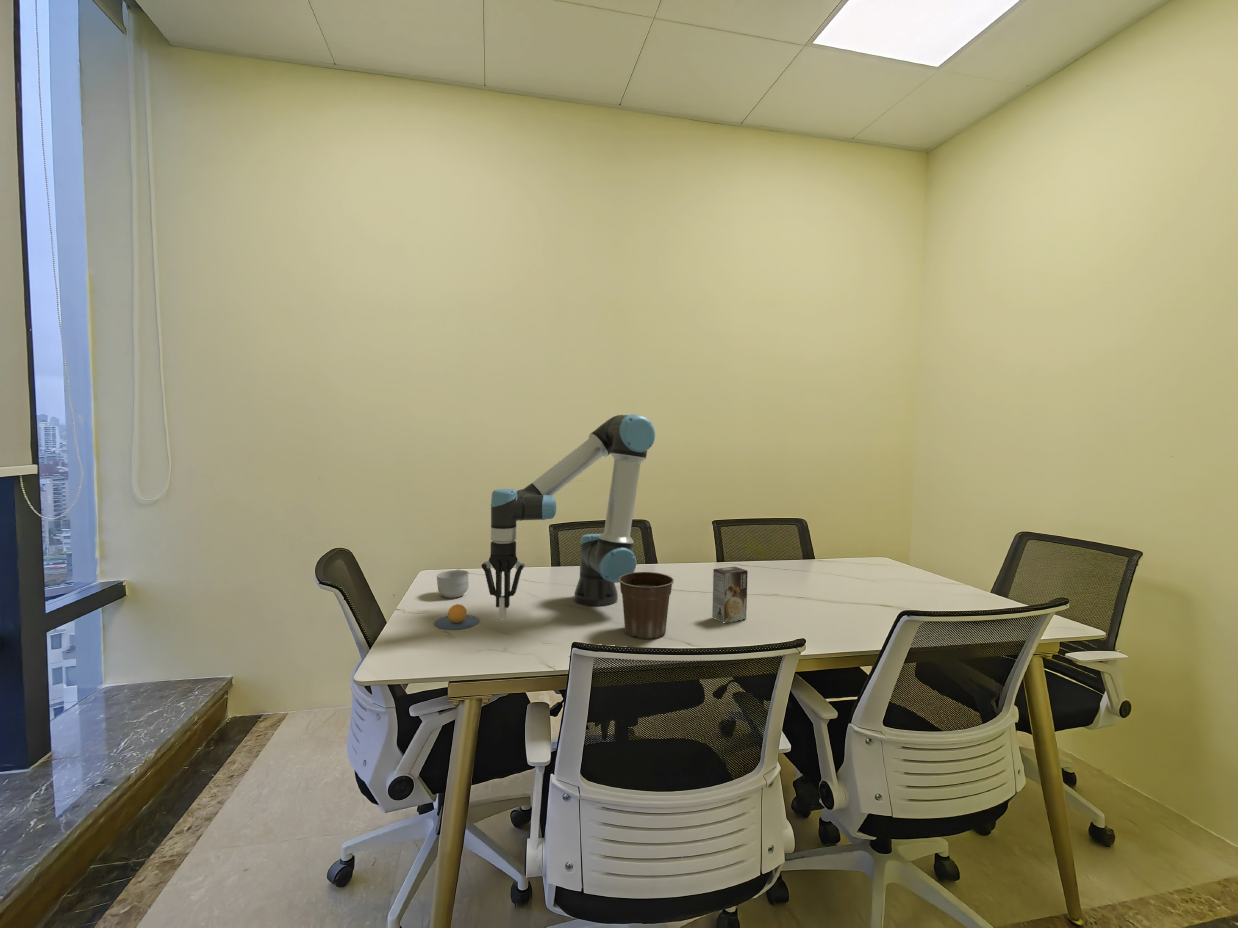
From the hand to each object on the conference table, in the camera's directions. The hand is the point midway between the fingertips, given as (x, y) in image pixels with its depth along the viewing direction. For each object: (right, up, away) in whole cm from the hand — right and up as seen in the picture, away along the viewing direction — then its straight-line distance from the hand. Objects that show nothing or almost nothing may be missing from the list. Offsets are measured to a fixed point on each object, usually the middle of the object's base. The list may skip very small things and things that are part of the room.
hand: (502, 617), depth 175 cm
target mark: (-14, -2, +1) cm, 14 cm away
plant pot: (+43, -4, -4) cm, 43 cm away
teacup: (-23, 0, +29) cm, 37 cm away
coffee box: (+70, -3, +10) cm, 71 cm away
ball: (-14, +1, 0) cm, 14 cm away
